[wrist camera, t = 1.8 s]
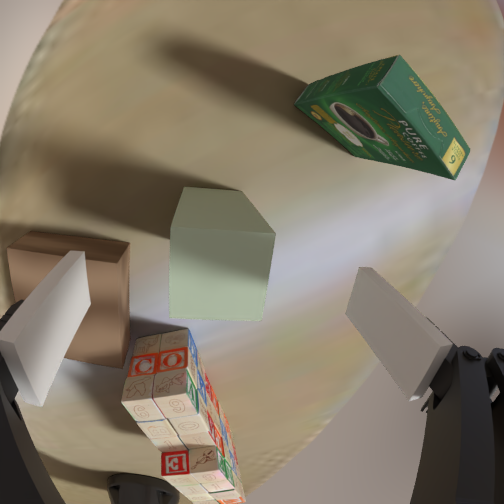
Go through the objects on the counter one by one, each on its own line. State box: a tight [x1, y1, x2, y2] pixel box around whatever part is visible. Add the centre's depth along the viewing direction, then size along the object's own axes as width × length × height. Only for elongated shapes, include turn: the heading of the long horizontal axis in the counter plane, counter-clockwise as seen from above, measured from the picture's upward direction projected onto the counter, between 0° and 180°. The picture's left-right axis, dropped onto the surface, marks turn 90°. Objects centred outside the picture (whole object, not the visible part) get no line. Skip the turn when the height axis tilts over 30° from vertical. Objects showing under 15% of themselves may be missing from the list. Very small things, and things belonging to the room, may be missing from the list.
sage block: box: [169, 187, 276, 321], centre depth 20 cm, size 5×5×12 cm
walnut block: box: [7, 231, 131, 369], centre depth 24 cm, size 11×11×5 cm
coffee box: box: [294, 55, 470, 180], centre depth 18 cm, size 8×3×13 cm, turn 55°
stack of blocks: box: [121, 329, 246, 504], centre depth 28 cm, size 21×6×12 cm, turn 10°
